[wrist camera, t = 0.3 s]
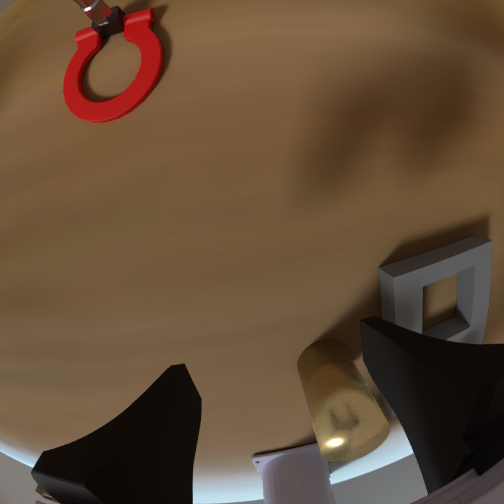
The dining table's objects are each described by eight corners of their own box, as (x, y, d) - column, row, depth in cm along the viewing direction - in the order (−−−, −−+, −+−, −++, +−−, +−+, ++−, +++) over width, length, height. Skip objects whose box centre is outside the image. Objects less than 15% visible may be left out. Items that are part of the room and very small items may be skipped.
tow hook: (165, 111, 17) (167, 10, 15) (59, 43, 5) (109, -95, 2) (68, 134, 17) (76, 37, 15) (-61, 125, 5) (-18, -18, 2)
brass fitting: (349, 373, 22) (387, 447, 13) (301, 387, 22) (323, 468, 13) (345, 333, 21) (392, 407, 12) (292, 348, 21) (317, 433, 12)
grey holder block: (463, 363, 23) (492, 392, 17) (382, 403, 23) (404, 443, 17) (474, 235, 19) (520, 250, 14) (378, 267, 20) (420, 296, 14)
